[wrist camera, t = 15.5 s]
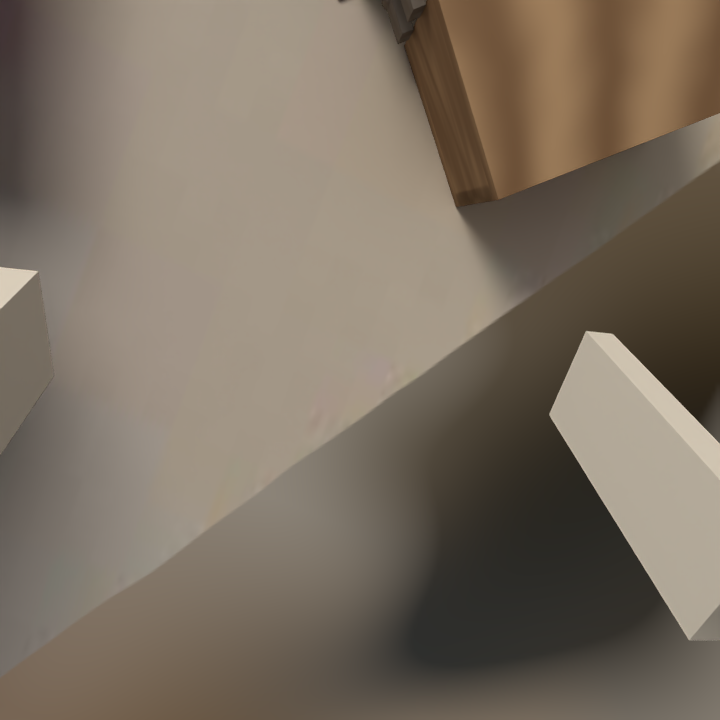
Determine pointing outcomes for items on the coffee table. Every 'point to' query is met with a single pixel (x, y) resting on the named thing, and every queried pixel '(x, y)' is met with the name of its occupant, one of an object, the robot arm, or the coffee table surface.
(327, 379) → the coffee table surface
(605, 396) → the robot arm
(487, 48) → the cabinet
